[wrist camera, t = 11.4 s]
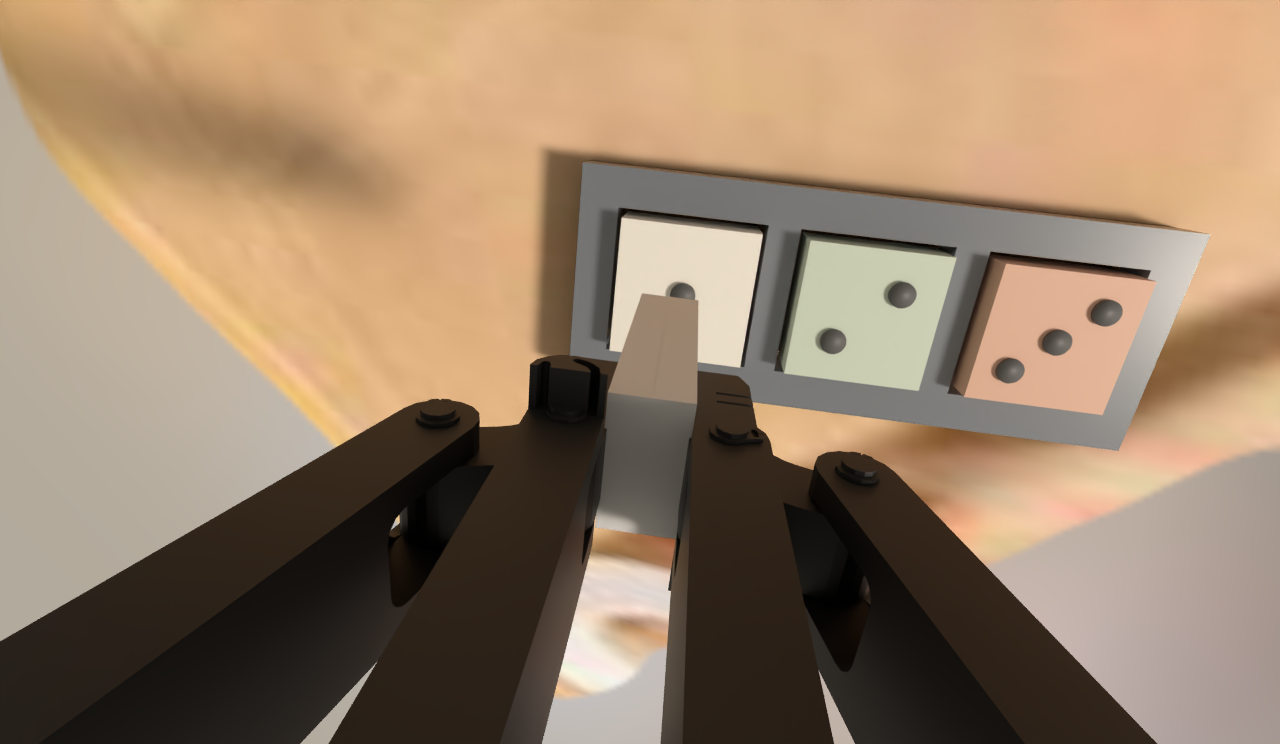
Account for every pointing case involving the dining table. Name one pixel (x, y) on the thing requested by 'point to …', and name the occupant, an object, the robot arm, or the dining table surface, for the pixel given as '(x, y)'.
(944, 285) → the tile two
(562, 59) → the dining table surface
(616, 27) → the dining table surface
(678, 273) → the tile one
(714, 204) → the tile tray
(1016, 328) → the tile three
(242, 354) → the dining table surface
